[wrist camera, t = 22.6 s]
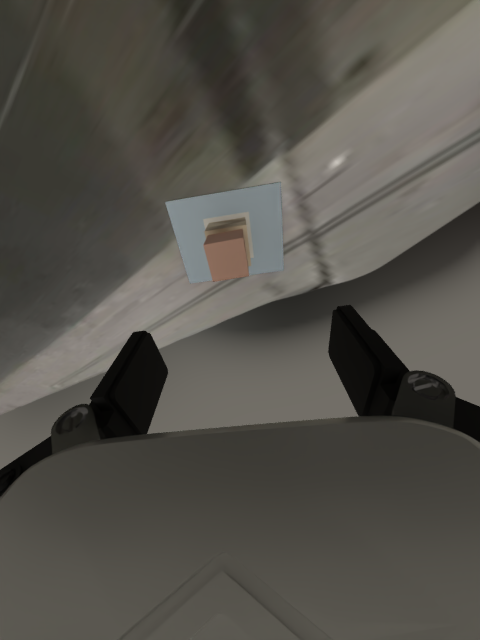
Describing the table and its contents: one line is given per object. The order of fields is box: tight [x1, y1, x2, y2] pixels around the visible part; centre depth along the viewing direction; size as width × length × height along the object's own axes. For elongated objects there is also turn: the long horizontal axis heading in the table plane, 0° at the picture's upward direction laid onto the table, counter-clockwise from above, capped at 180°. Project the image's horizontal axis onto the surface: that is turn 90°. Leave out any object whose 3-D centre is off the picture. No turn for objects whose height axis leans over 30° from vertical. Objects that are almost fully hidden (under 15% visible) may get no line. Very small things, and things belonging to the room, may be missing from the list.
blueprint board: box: [165, 182, 284, 283], centre depth 37 cm, size 18×14×1 cm
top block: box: [203, 229, 249, 282], centre depth 30 cm, size 5×5×5 cm
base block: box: [204, 217, 251, 266], centre depth 34 cm, size 6×6×6 cm
